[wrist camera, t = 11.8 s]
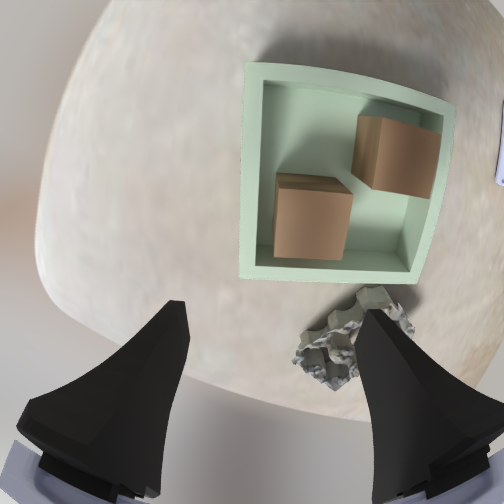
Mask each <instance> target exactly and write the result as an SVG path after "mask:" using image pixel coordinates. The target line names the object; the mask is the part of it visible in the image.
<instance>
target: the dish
mask: <svg viewBox="0 0 504 504" xmlns="http://www.w3.org/2000/svg"><path fill="white" fill-rule="evenodd" d="M455 114H456V105H453V104H451V103H449V102H446V101H444V100H441V99H439V98H436V97H433V96H431V95H428V94H425V93H422V92H420V91H417V90H414V89H410V88H407V87H404V86H401V85H397V84H394V83H390V82H387V81H383V80H379V79H375V78H371V77H367V76H363V75H358V74H353V73H348V72H343V71H337V70H331V69H325V68H318V67H311V66H302V65H293V64H281V63H264V62H244V87H243V115H242V146H241V184H240V231H239V278H241V279H260V280H281V281H304V282H332V283H371V284H417V281H418V279H419V276H420V273H421V270H422V268H423V265H424V262H425V259H426V256H427V253H428V250H429V247H430V244H431V240H432V237H433V234H434V230H435V227H436V223H437V219H438V215H439V212H440V208H441V203H442V199H443V195H444V190H445V185H446V180H447V175H448V170H449V164H450V158H451V151H452V144H453V135H454V126H455ZM358 115H362V116H377V117H384V118H388V119H392V120H396V121H400V122H403V123H407V124H410V125H414V126H417V127H420V128H423V129H427V130H430V131H433V132H436V133H439V134H441V139H440V146H439V153H438V159H437V165H436V170H435V176H434V181H433V185H432V190H431V194H430V199H424V198H419V197H414V196H409V195H403V194H397V193H391V192H385V191H379V190H372V189H371V188H370V187H368V186H367V185H366V184H364V183H363V182H362V181H361V180H359V179H358V178H357V177H355V176H354V175H353V174H351V168H352V161H353V153H354V145H355V136H356V127H357V117H358ZM276 172H278V173H293V174H306V175H317V176H327V177H336V178H337V179H338V180H339V181H340V182H341V183H342V184H343V185H344V186H345V187H346V188H347V189H348V190H349V191H351V192H352V193H353V194H354V197H353V203H352V209H351V215H350V220H349V226H348V231H347V236H346V241H345V246H344V251H343V256H342V260H323V259H302V258H281V257H274V249H273V232H272V226H273V211H274V196H275V180H276Z"/></svg>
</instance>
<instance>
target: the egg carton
mask: <svg viewBox="0 0 504 504" xmlns="http://www.w3.org/2000/svg"><path fill="white" fill-rule="evenodd" d="M356 296H357V301H356V303H355V305H354V306H353V307H352V308H350V309H349V310H345V311H338V310H336V309H335V310H334V311H333V312H332V313H331V314H330V315H329V316H327V318H328V324H327V326H326V327H325V328H324V329H322V330H320V331H309V330H306V331H305V332H303V333H302V334H301V335H300V339H301V344H300V345H299V346H298V348H299V350H297V351H296V357H295V358H294V359H292V362H293V364H295V365H296V363H297V364H299V365H300V366H301V367H302V368H303V370H304V372H305V373H310V374H311V375H312V376H313V377H314V378H316V379H317V380H318V381H320V382H321V384H322V383H323V382H324V383H325V384H326V385H327V386H328V387H329V388H331V389H332V390H334V391H337V390H338V389H339V388H340V387H341V386H343V385H344V384H345V383H347V382H348V381H349V380H350V379H351V378H353V377H358V376H359V374H360V373H359V370H358V366H357V360H356V354H355V346H354V345H353V346H352V344H351V341H350V337H349V333H350V331H351V330H352V329H356V328H357V327H360V328H361V325H362V323H363V320H364V317H365V314H366V312H367V309H381V310H382V311H384V312H385V313H387V314H388V316H389V317H390V318H391V319H392V320H396V321H397V320H398V322H397V323H396V324H397V325H398V326H399V327H400V328H401V329H402V330H403V331H404V332H405V333H406V334H407V335H408V336H409V337H410V339H412V337H413V335H414V332H415V327H414V326H412V324H411V322H410V320H409V319H408V318H407V316H406V314H405V312H404V310H403V308H402V307H401V305H400V304H399V302H397V304H396V305H395V304H394V303H393V301H392V300H391V298H390V296H389V294H388V293H387V291H386V289H385V288H384V287H383V286H382V285H380V286H378V287H375V288H367V287H364V288H362V289H360V290H359V291H358V292H357V293H356ZM334 331H335V332H334ZM308 347H309V348H310V349H308V350H305V351H303V350H304V349H305V348H308ZM321 347H327V348H328V353H329V357H330V358H331V360H332V361H329V362H326V363H325V361H324V356H323V352H322V351H321V350H320V349H319V348H321ZM316 348H318V349H316Z"/></svg>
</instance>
